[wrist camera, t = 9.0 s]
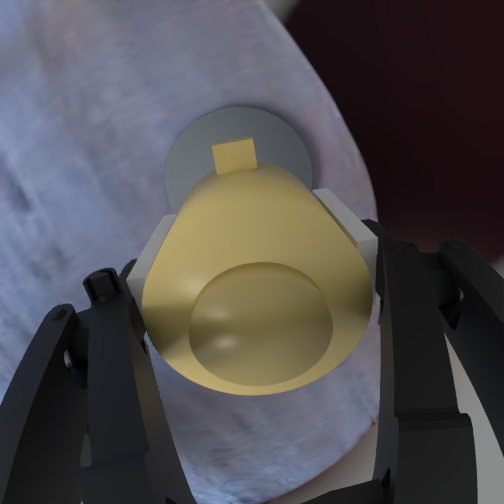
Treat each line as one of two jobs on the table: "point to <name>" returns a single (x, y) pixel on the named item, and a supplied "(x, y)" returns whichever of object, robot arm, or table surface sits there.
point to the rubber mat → (227, 128)
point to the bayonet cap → (255, 281)
